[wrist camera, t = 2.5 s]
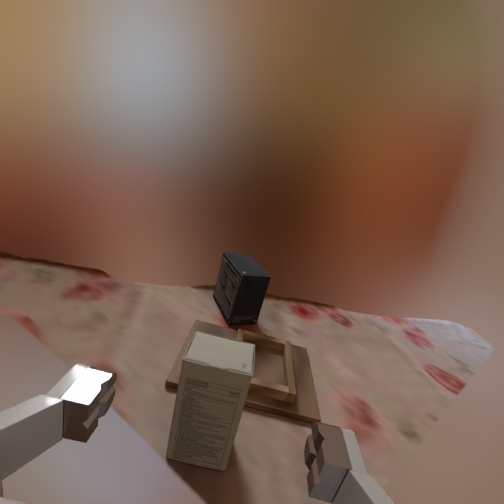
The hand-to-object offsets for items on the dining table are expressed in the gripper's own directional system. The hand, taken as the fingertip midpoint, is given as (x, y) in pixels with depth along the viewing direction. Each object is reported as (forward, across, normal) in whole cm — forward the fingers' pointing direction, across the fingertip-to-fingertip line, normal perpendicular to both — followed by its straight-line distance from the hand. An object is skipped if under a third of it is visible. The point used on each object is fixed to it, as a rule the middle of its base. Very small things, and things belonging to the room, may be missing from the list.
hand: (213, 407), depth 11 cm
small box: (+40, 0, +19) cm, 45 cm away
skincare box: (+12, 0, +19) cm, 23 cm away
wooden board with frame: (+25, -4, +19) cm, 32 cm away
